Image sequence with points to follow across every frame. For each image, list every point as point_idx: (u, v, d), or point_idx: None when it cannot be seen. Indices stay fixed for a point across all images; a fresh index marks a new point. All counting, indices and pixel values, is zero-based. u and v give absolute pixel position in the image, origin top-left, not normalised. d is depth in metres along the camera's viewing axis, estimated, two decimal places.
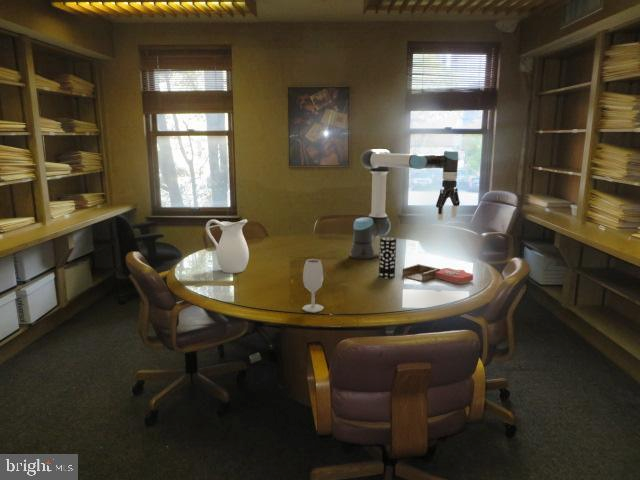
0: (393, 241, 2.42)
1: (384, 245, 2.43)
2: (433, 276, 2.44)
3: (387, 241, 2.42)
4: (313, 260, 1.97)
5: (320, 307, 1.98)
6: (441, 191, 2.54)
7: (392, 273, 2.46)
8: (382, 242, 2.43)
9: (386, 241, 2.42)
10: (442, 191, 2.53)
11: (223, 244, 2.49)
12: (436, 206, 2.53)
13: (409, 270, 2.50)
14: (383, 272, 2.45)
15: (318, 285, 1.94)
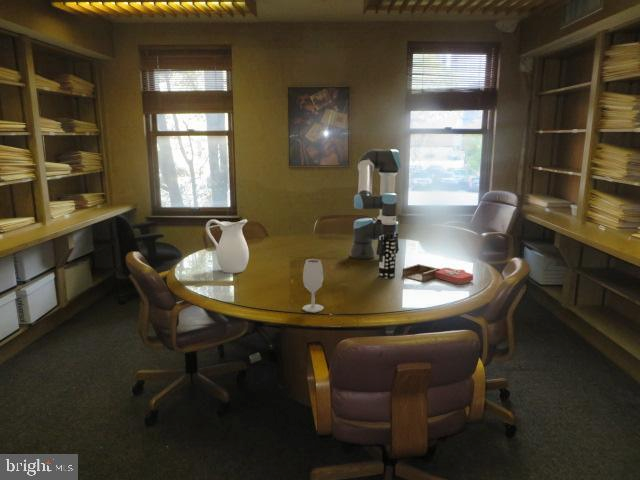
0: (393, 241, 2.42)
1: (384, 245, 2.43)
2: (433, 276, 2.44)
3: (387, 241, 2.42)
4: (313, 260, 1.97)
5: (320, 307, 1.98)
6: (379, 238, 2.41)
7: (392, 273, 2.46)
8: None
9: (386, 241, 2.42)
10: (380, 238, 2.40)
11: (223, 244, 2.49)
12: (376, 254, 2.42)
13: (409, 270, 2.50)
14: (383, 272, 2.45)
15: (318, 285, 1.94)
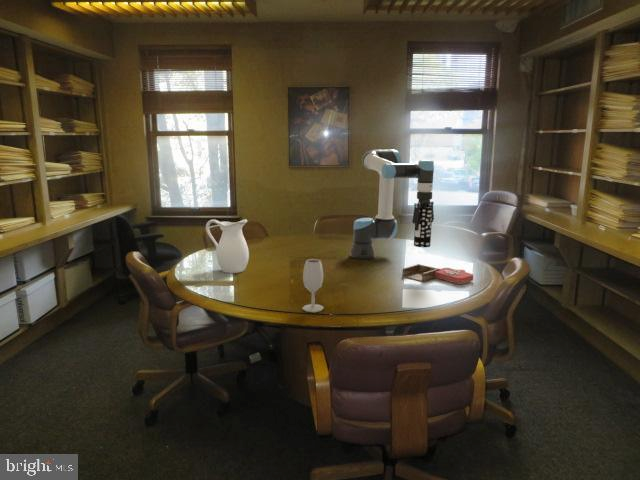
0: (429, 209, 2.37)
1: (420, 213, 2.38)
2: (433, 276, 2.44)
3: (423, 209, 2.37)
4: (313, 260, 1.97)
5: (320, 307, 1.98)
6: (415, 206, 2.36)
7: (428, 242, 2.41)
8: None
9: (422, 208, 2.37)
10: (416, 206, 2.36)
11: (223, 244, 2.49)
12: (412, 222, 2.37)
13: (409, 270, 2.50)
14: (419, 241, 2.41)
15: (318, 285, 1.94)
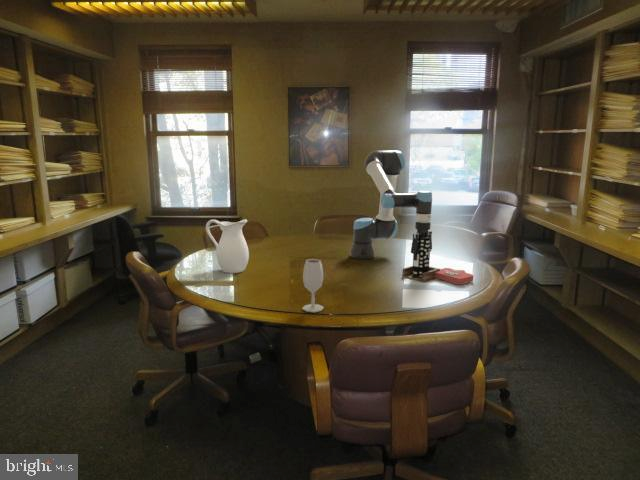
0: (428, 239, 2.40)
1: (419, 243, 2.41)
2: (433, 276, 2.44)
3: (422, 239, 2.40)
4: (313, 260, 1.97)
5: (320, 307, 1.98)
6: (414, 236, 2.39)
7: (426, 271, 2.44)
8: None
9: (421, 239, 2.40)
10: (415, 236, 2.39)
11: (223, 244, 2.49)
12: (411, 252, 2.41)
13: (409, 270, 2.50)
14: (417, 270, 2.44)
15: (318, 285, 1.94)
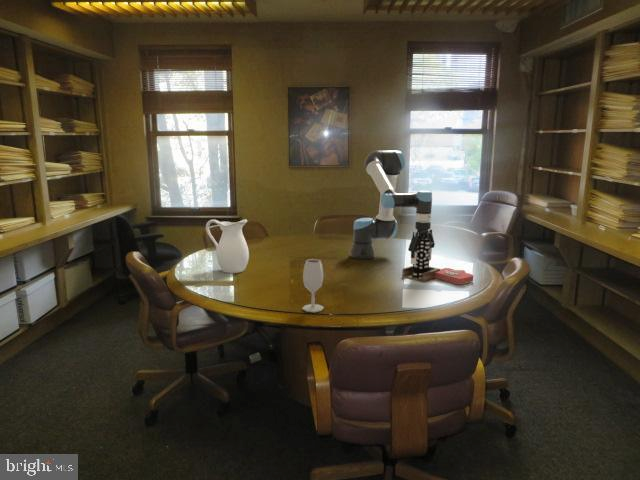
0: (428, 241, 2.41)
1: (418, 245, 2.41)
2: (433, 276, 2.44)
3: (422, 241, 2.40)
4: (313, 260, 1.97)
5: (320, 307, 1.98)
6: (414, 234, 2.39)
7: None
8: None
9: (420, 240, 2.40)
10: (415, 234, 2.38)
11: (223, 244, 2.49)
12: (408, 250, 2.39)
13: (409, 270, 2.50)
14: (417, 272, 2.44)
15: (318, 285, 1.94)
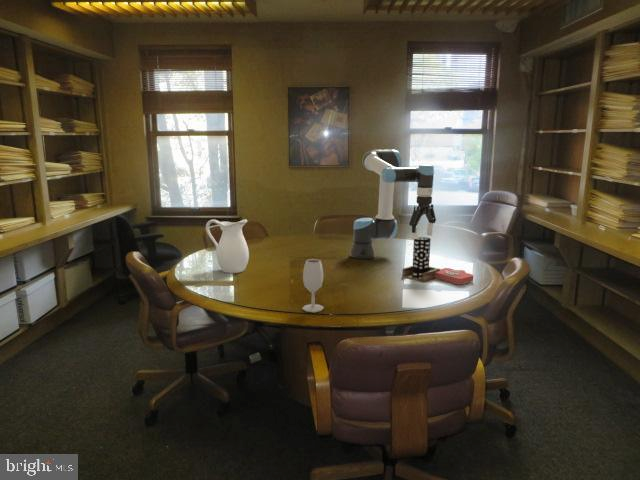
0: (428, 241, 2.41)
1: (418, 245, 2.41)
2: (433, 276, 2.44)
3: (422, 241, 2.40)
4: (313, 260, 1.97)
5: (320, 307, 1.98)
6: (415, 208, 2.36)
7: None
8: (416, 242, 2.42)
9: (420, 240, 2.40)
10: (416, 208, 2.36)
11: (223, 244, 2.49)
12: (409, 224, 2.36)
13: (409, 270, 2.50)
14: (417, 272, 2.44)
15: (318, 285, 1.94)
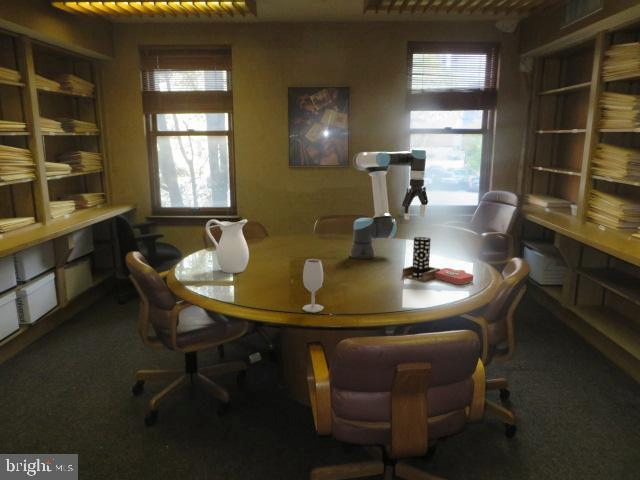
0: (428, 241, 2.41)
1: (418, 245, 2.41)
2: (433, 276, 2.44)
3: (422, 241, 2.40)
4: (313, 260, 1.97)
5: (320, 307, 1.98)
6: (408, 190, 2.50)
7: None
8: (416, 242, 2.42)
9: (420, 240, 2.40)
10: (408, 190, 2.49)
11: (223, 244, 2.49)
12: (402, 205, 2.50)
13: (409, 270, 2.50)
14: (417, 272, 2.44)
15: (318, 285, 1.94)
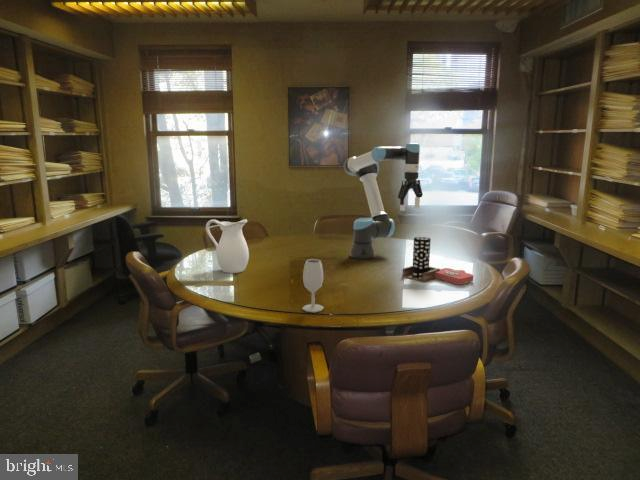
0: (428, 241, 2.41)
1: (418, 245, 2.41)
2: (433, 276, 2.44)
3: (422, 241, 2.40)
4: (313, 260, 1.97)
5: (320, 307, 1.98)
6: (403, 182, 2.61)
7: None
8: (416, 242, 2.42)
9: (420, 240, 2.40)
10: (404, 182, 2.60)
11: (223, 244, 2.49)
12: (398, 197, 2.61)
13: (409, 270, 2.50)
14: (417, 272, 2.44)
15: (318, 285, 1.94)
